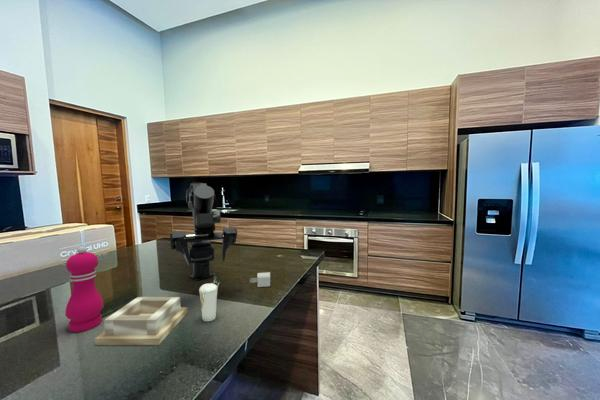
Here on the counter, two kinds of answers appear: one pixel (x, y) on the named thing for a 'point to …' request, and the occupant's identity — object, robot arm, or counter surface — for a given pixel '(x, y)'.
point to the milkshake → (208, 301)
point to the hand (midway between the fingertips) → (207, 262)
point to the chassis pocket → (142, 322)
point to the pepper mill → (83, 292)
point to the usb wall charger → (262, 279)
